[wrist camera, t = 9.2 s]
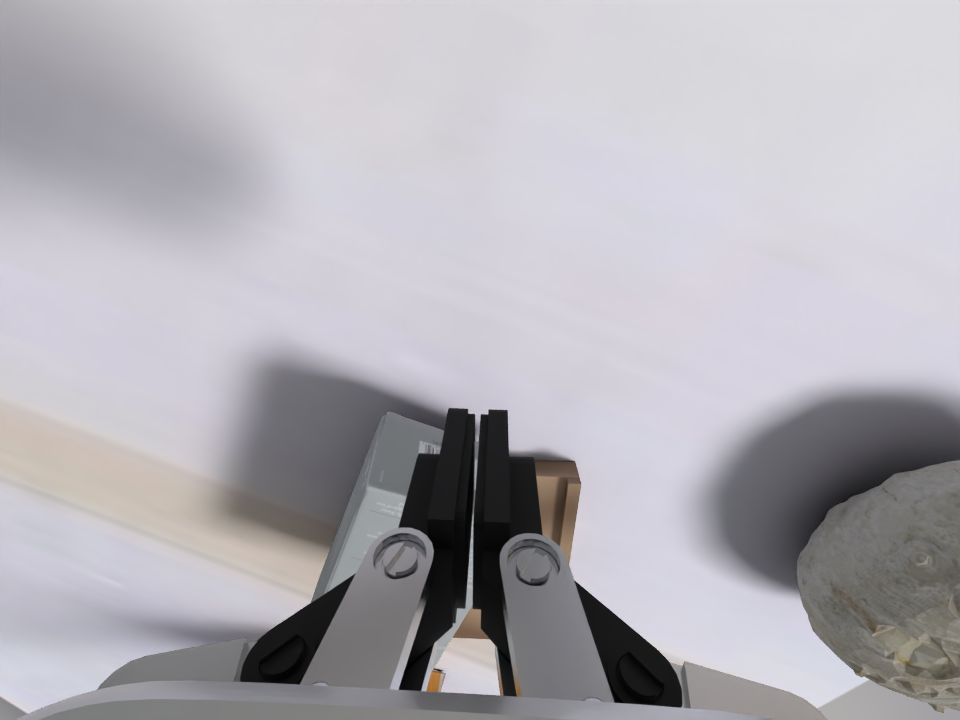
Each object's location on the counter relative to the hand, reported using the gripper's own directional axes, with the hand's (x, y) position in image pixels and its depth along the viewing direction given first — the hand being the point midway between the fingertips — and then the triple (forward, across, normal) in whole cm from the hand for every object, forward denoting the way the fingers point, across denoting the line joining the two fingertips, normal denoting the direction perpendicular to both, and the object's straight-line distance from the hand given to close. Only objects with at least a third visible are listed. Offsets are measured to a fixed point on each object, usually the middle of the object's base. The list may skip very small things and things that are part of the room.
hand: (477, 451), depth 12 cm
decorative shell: (+13, -30, +16) cm, 36 cm away
